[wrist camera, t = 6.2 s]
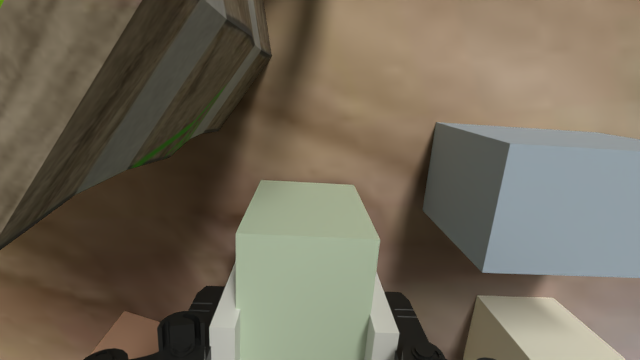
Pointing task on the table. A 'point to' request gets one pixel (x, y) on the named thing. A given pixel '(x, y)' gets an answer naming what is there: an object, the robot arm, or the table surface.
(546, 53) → the table surface
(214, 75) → the mug
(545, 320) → the cream brick
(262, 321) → the sage brick
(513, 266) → the slate brick
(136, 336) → the terracotta brick
